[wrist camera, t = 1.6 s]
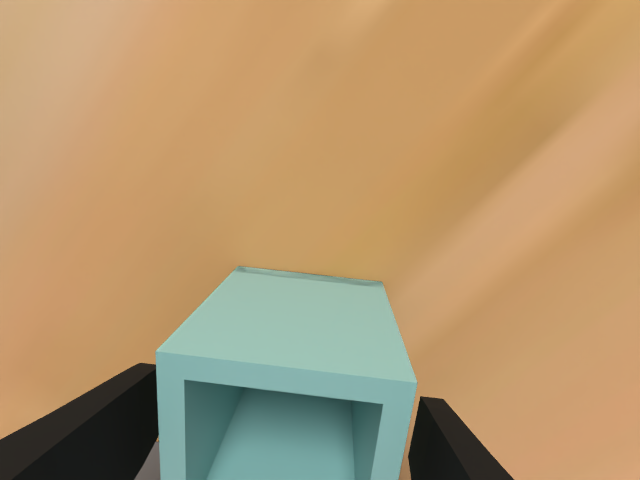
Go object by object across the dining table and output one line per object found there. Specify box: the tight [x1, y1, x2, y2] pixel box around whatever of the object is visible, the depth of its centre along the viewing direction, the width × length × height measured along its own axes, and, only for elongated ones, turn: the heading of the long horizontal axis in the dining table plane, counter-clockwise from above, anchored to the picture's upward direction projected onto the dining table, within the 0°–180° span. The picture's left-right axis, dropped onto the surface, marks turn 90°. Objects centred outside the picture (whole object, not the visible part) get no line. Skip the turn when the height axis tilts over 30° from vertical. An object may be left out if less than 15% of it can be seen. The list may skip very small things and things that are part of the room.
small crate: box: [156, 266, 417, 480], centre depth 10 cm, size 5×5×6 cm
